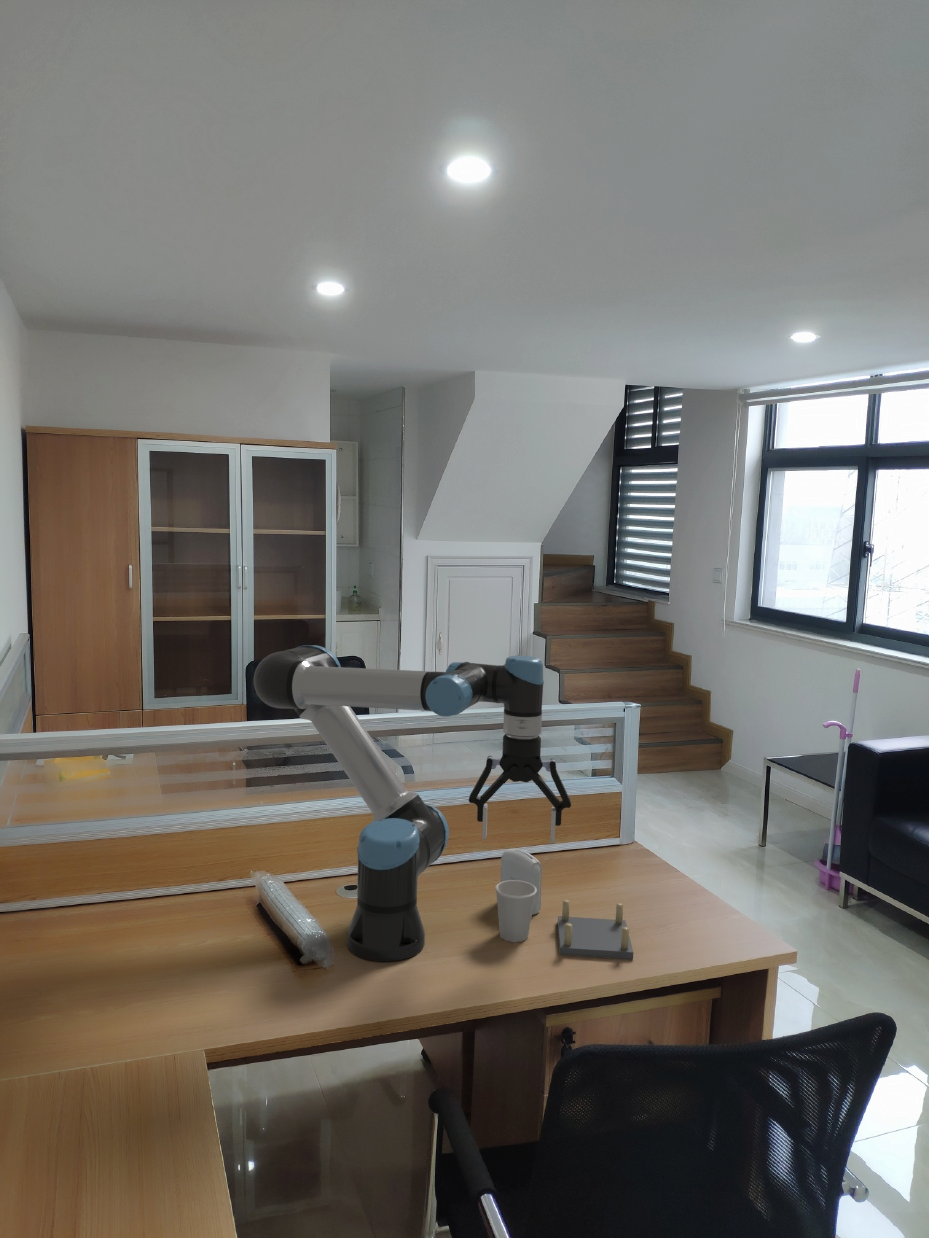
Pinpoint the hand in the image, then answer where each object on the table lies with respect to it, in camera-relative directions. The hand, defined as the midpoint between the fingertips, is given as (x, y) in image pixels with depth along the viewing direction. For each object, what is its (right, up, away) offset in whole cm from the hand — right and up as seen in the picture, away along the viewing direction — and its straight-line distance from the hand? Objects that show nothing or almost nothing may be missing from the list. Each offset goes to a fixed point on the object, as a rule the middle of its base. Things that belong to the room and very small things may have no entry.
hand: (518, 839), depth 176 cm
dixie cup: (-1, -20, +2) cm, 20 cm away
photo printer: (+1, -19, +16) cm, 25 cm away
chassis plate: (+15, -21, +1) cm, 26 cm away
